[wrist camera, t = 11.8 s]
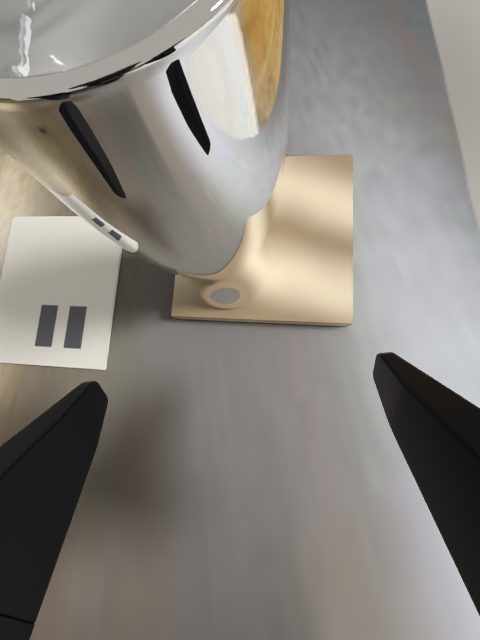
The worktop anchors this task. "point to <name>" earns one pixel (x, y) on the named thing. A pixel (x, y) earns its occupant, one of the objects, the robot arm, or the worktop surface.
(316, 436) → the worktop surface
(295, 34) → the worktop surface
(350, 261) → the birch board
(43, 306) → the card
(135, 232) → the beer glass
